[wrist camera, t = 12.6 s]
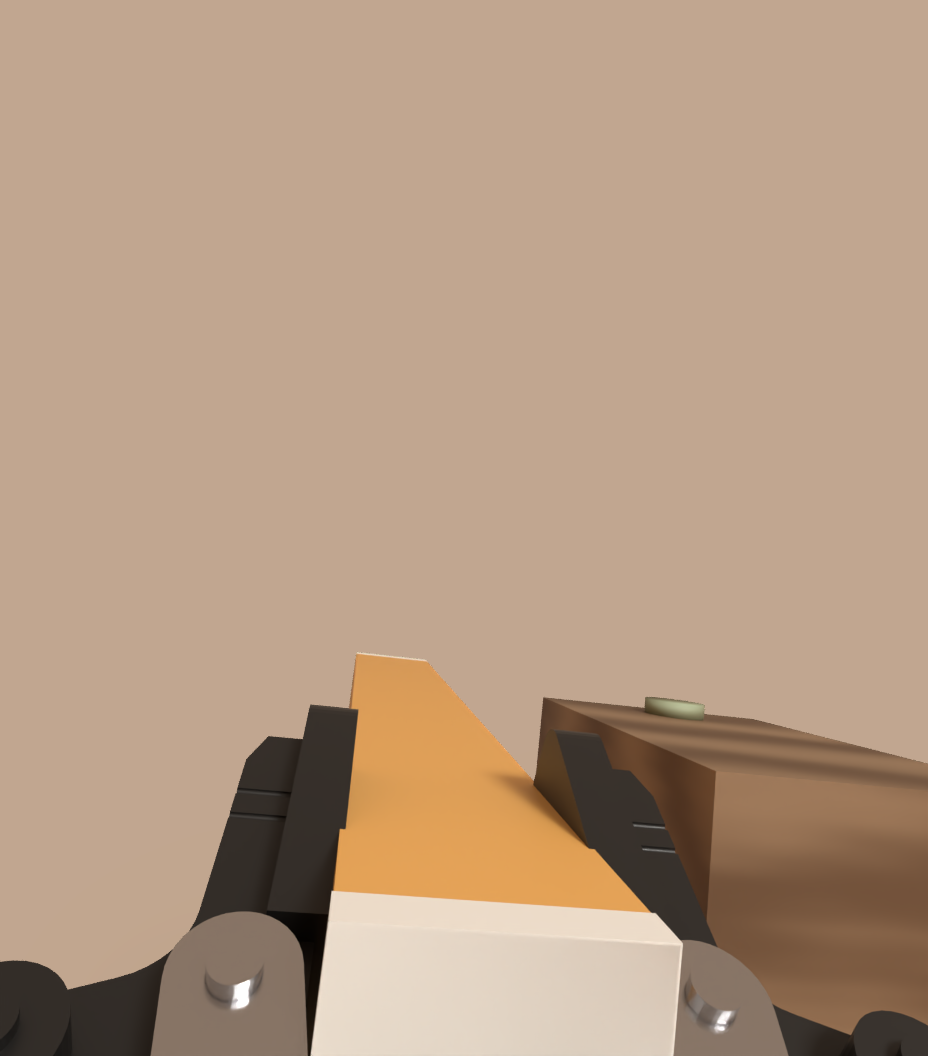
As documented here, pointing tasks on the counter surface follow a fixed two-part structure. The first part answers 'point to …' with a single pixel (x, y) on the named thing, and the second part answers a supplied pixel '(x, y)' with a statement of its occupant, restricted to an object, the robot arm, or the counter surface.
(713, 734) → the tall stand
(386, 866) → the pale tan wood block
